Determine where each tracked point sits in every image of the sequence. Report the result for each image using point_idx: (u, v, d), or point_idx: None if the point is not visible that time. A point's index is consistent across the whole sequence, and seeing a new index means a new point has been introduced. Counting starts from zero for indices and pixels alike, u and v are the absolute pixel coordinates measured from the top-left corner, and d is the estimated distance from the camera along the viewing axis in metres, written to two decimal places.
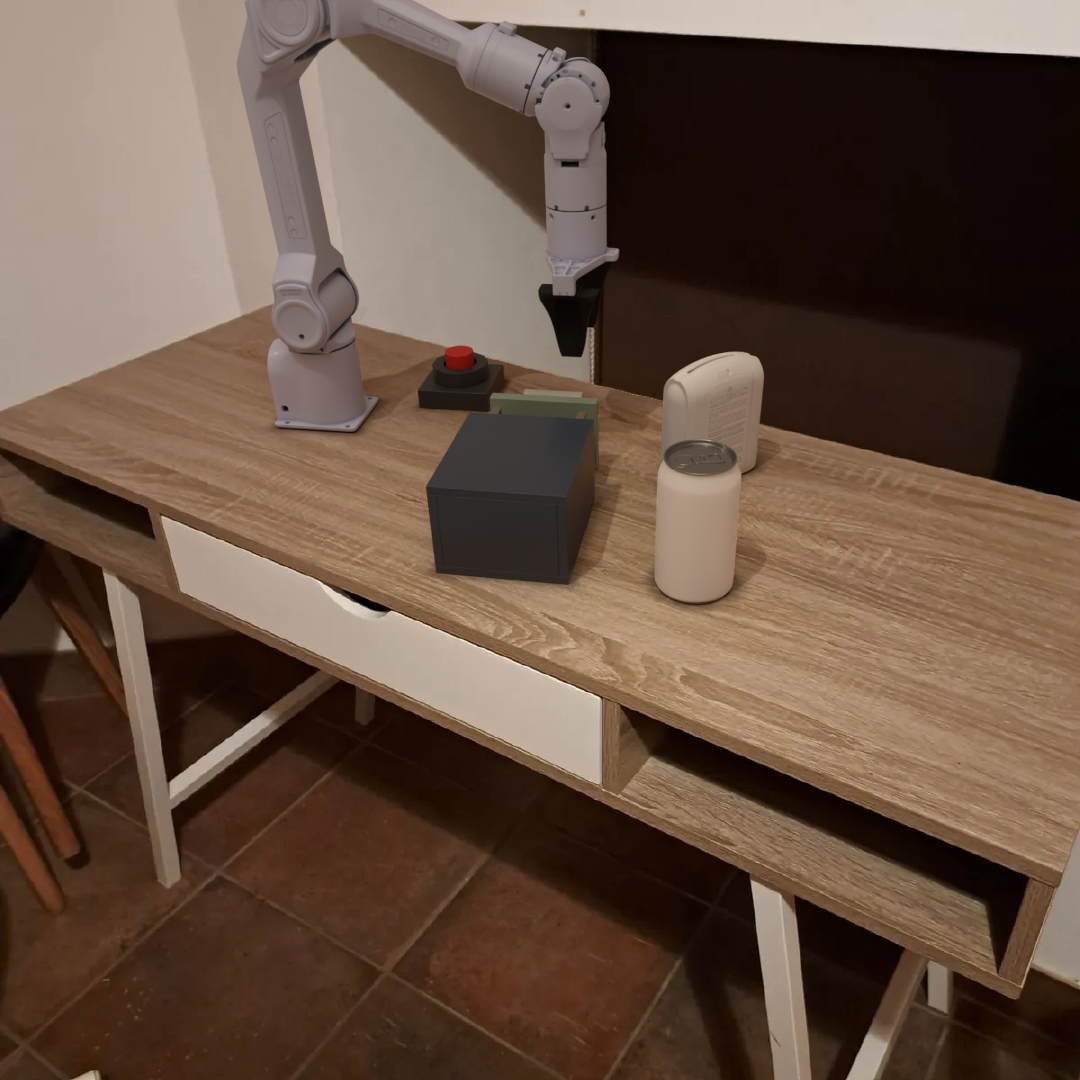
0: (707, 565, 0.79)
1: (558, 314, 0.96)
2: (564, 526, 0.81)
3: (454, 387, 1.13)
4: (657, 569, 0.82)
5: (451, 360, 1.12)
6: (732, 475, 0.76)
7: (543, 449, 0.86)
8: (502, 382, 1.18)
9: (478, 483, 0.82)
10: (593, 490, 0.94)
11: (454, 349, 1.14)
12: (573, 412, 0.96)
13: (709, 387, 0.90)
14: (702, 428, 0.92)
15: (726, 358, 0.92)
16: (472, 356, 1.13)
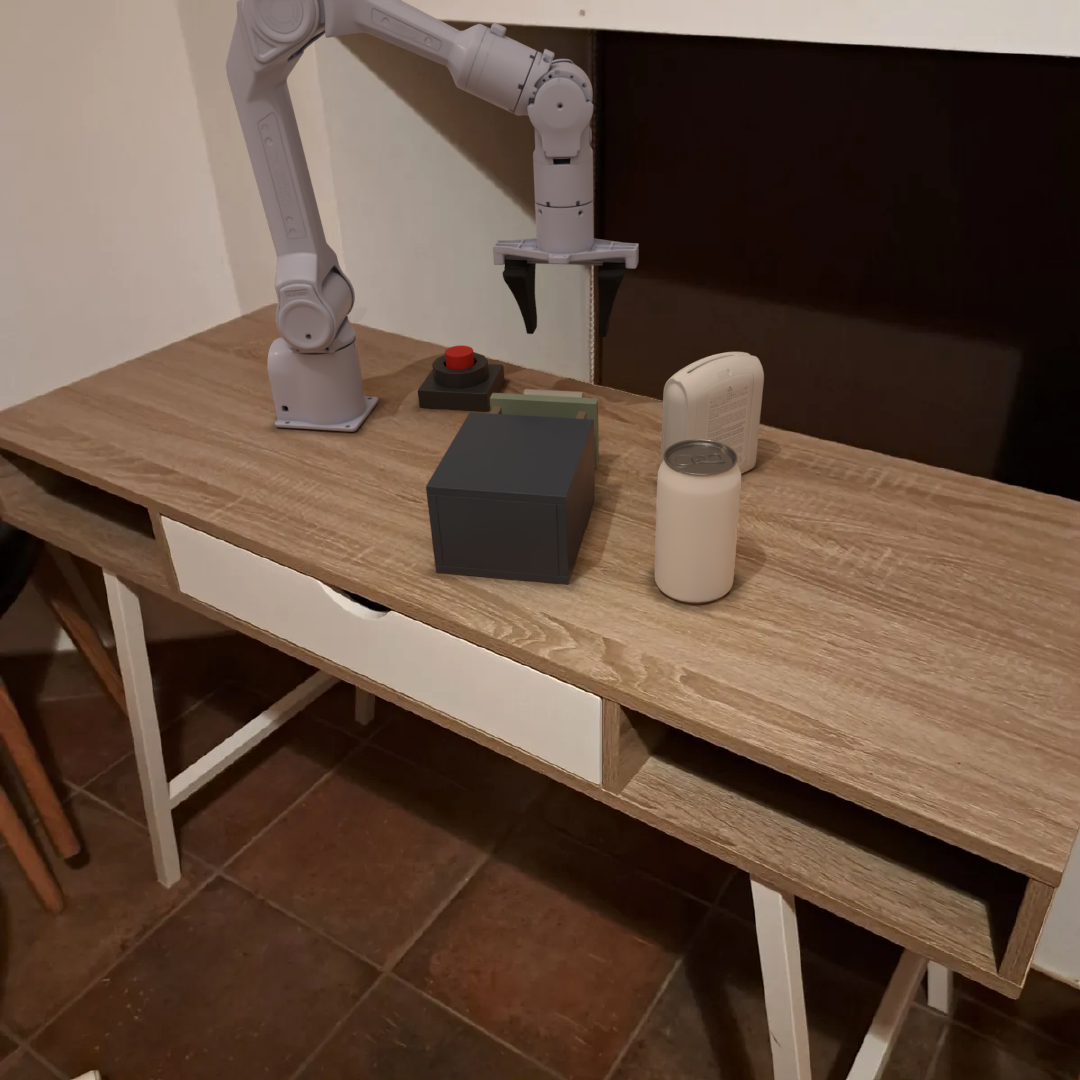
0: (707, 565, 0.79)
1: None
2: (564, 526, 0.81)
3: (454, 387, 1.13)
4: (657, 569, 0.82)
5: (451, 360, 1.12)
6: (732, 475, 0.76)
7: (543, 449, 0.86)
8: (502, 382, 1.18)
9: (478, 483, 0.82)
10: (593, 490, 0.94)
11: (454, 349, 1.14)
12: (573, 412, 0.96)
13: (709, 387, 0.90)
14: (702, 428, 0.92)
15: (726, 358, 0.92)
16: (472, 356, 1.13)
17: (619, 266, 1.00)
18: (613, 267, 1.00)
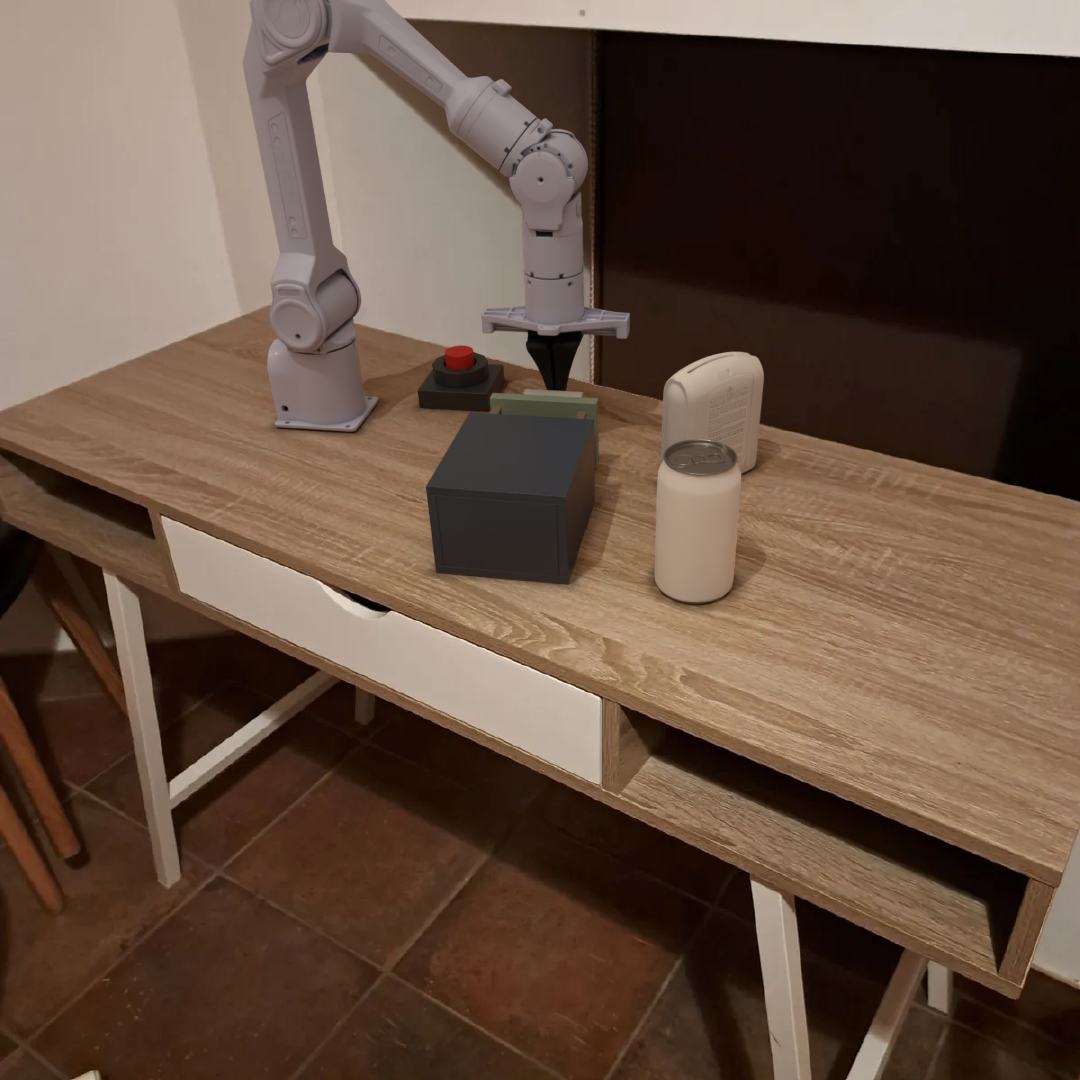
0: (707, 565, 0.79)
1: None
2: (564, 526, 0.81)
3: (454, 387, 1.13)
4: (657, 569, 0.82)
5: (451, 360, 1.12)
6: (732, 475, 0.76)
7: (543, 449, 0.86)
8: (502, 382, 1.18)
9: (478, 483, 0.82)
10: (593, 490, 0.94)
11: (454, 349, 1.14)
12: (573, 412, 0.96)
13: (709, 387, 0.90)
14: (702, 428, 0.92)
15: (726, 358, 0.92)
16: (472, 356, 1.13)
17: (574, 335, 0.99)
18: (569, 335, 0.99)
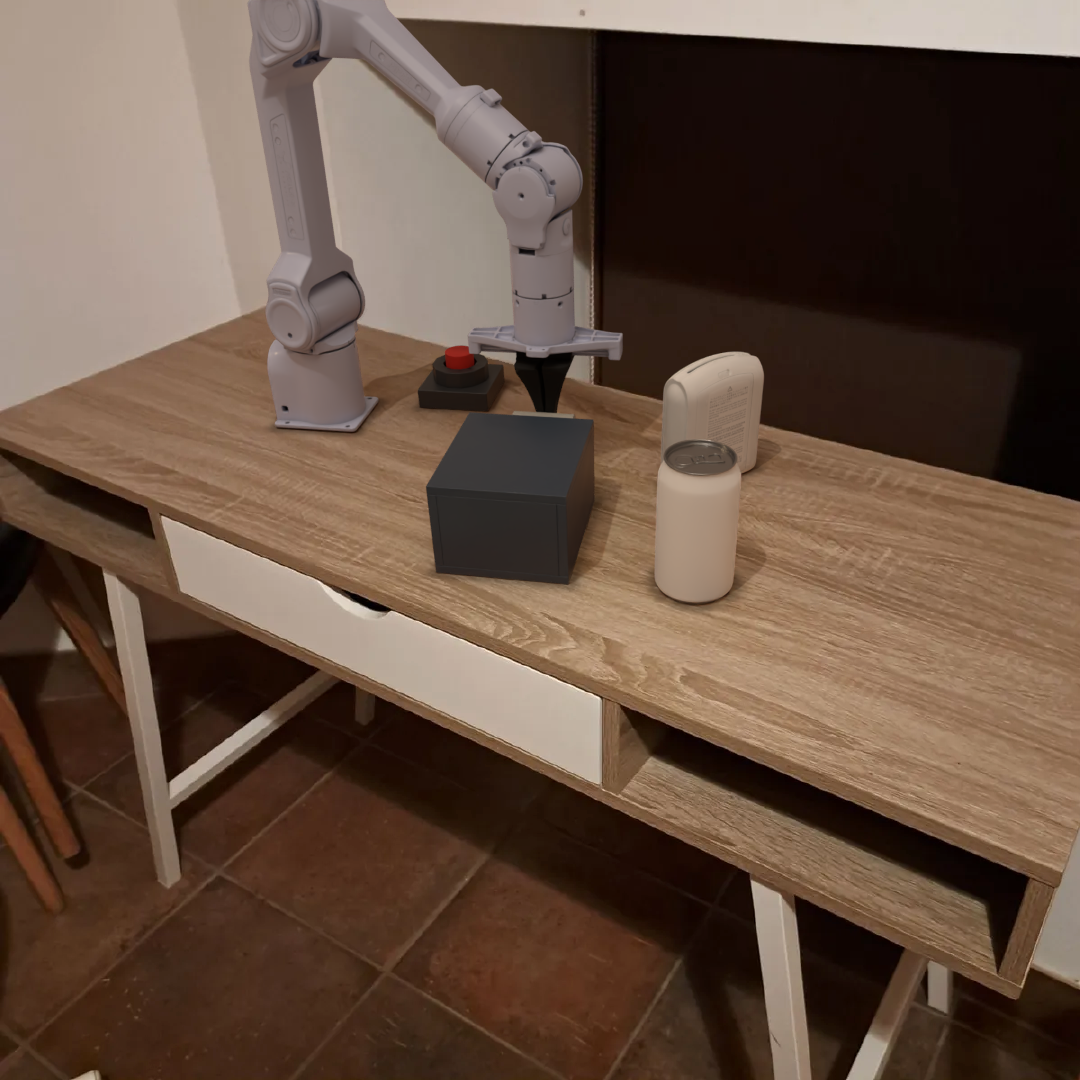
0: (707, 565, 0.79)
1: None
2: (564, 526, 0.81)
3: (454, 387, 1.13)
4: (657, 569, 0.82)
5: (451, 360, 1.12)
6: (732, 475, 0.76)
7: (543, 449, 0.86)
8: (502, 382, 1.18)
9: (478, 483, 0.82)
10: (593, 490, 0.94)
11: (454, 349, 1.14)
12: None
13: (709, 387, 0.90)
14: (702, 428, 0.92)
15: (726, 358, 0.92)
16: (472, 356, 1.13)
17: (565, 356, 0.95)
18: (559, 357, 0.95)
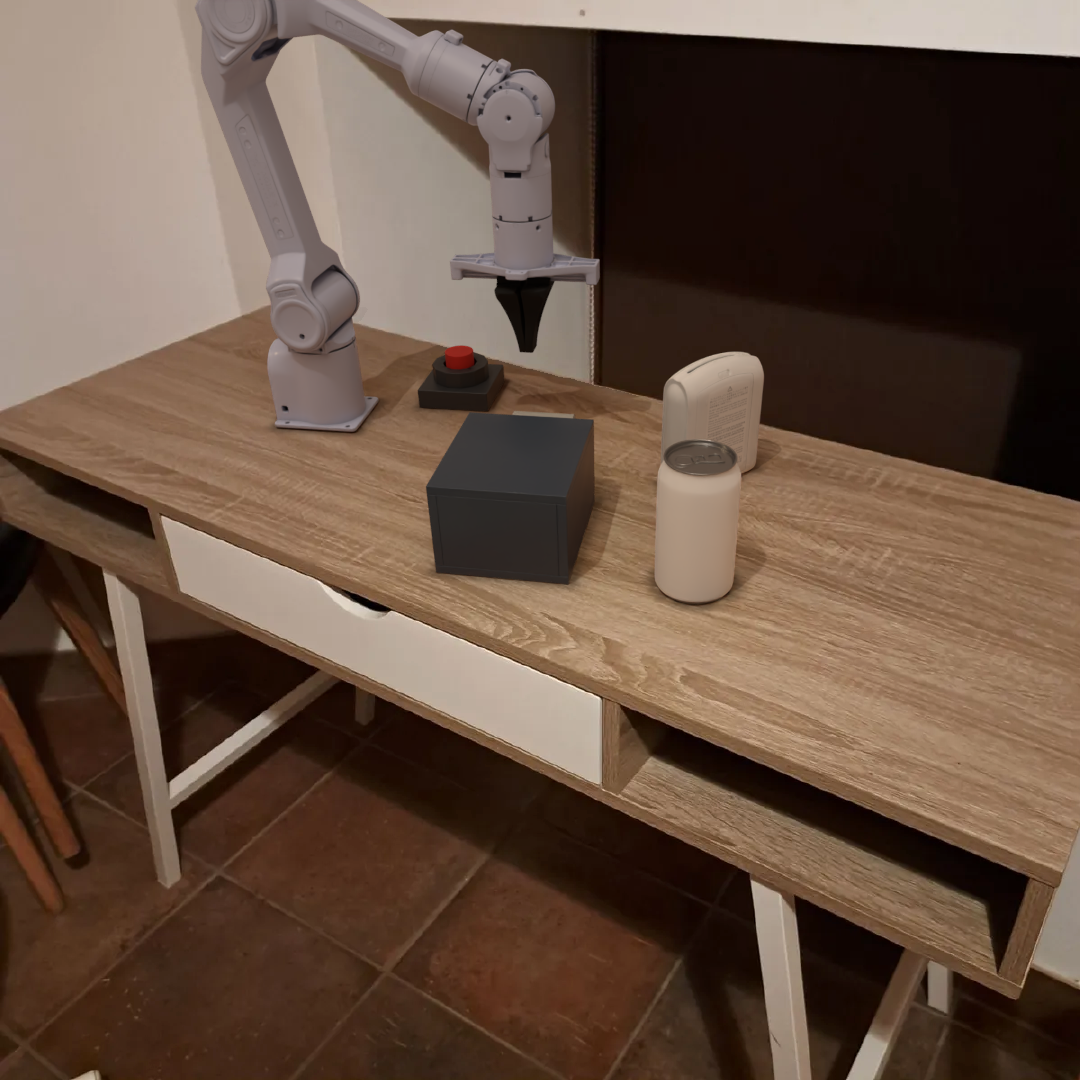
0: (707, 565, 0.79)
1: None
2: (564, 526, 0.81)
3: (454, 387, 1.13)
4: (657, 569, 0.82)
5: (451, 360, 1.12)
6: (732, 475, 0.76)
7: (543, 449, 0.86)
8: (502, 382, 1.18)
9: (478, 483, 0.82)
10: (593, 490, 0.94)
11: (454, 349, 1.14)
12: None
13: (709, 387, 0.90)
14: (702, 428, 0.92)
15: (726, 358, 0.92)
16: (472, 356, 1.13)
17: (544, 281, 0.98)
18: (538, 282, 0.98)
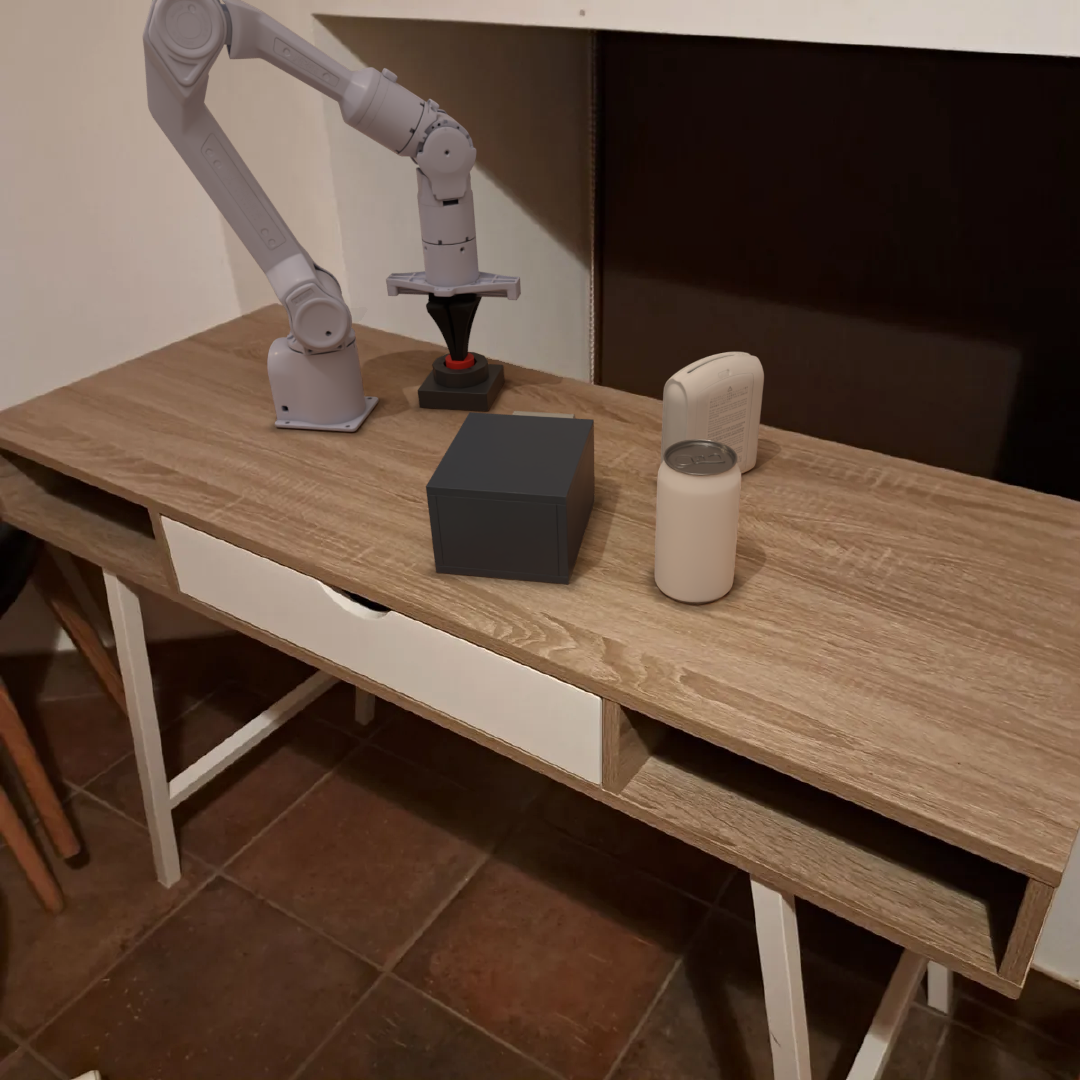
0: (707, 565, 0.79)
1: None
2: (564, 526, 0.81)
3: (454, 387, 1.13)
4: (657, 569, 0.82)
5: (451, 366, 1.13)
6: (732, 475, 0.76)
7: (543, 449, 0.86)
8: (502, 382, 1.18)
9: (478, 483, 0.82)
10: (593, 490, 0.94)
11: None
12: None
13: (709, 387, 0.90)
14: (702, 428, 0.92)
15: (726, 358, 0.92)
16: (473, 363, 1.14)
17: (470, 297, 1.09)
18: (465, 297, 1.09)
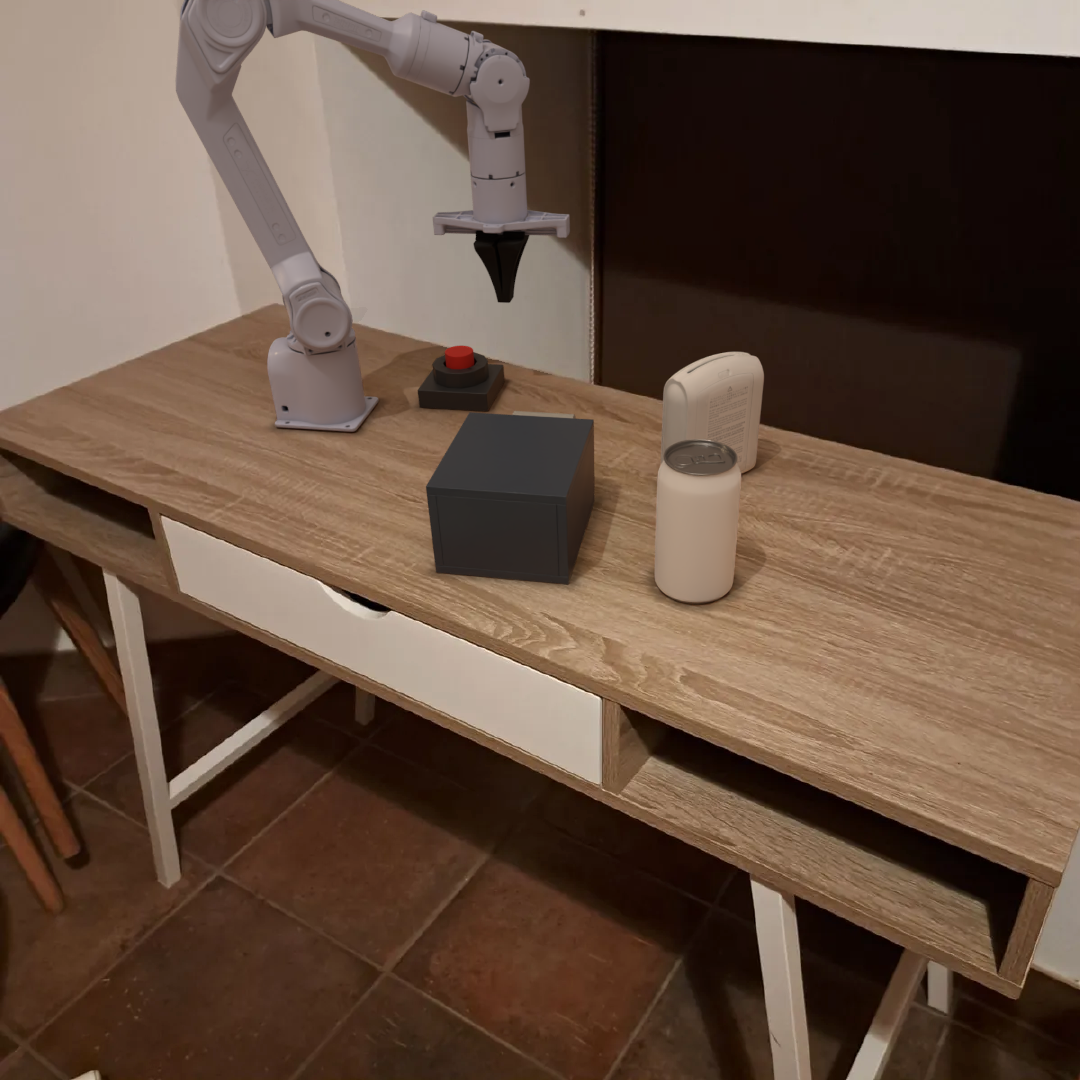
0: (707, 565, 0.79)
1: None
2: (564, 526, 0.81)
3: (454, 387, 1.13)
4: (657, 569, 0.82)
5: (451, 360, 1.13)
6: (732, 475, 0.76)
7: (543, 449, 0.86)
8: (502, 382, 1.18)
9: (478, 483, 0.82)
10: (593, 490, 0.94)
11: (454, 349, 1.14)
12: None
13: (709, 387, 0.90)
14: (702, 428, 0.92)
15: (726, 358, 0.92)
16: (472, 356, 1.13)
17: (518, 235, 1.07)
18: (513, 236, 1.07)
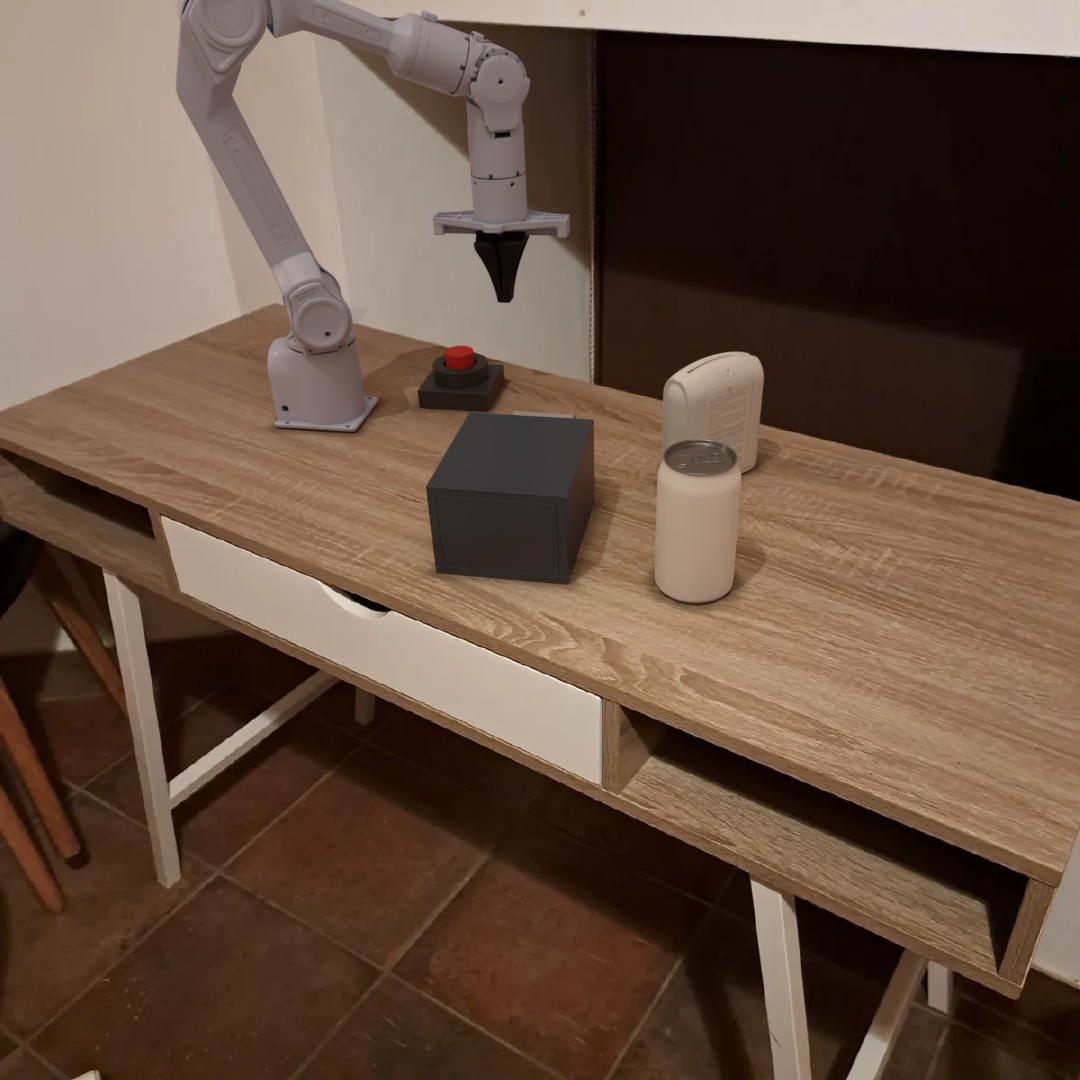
0: (707, 565, 0.79)
1: None
2: (564, 526, 0.81)
3: (454, 387, 1.13)
4: (657, 569, 0.82)
5: (451, 360, 1.13)
6: (732, 475, 0.76)
7: (543, 449, 0.86)
8: (502, 382, 1.18)
9: (478, 483, 0.82)
10: (593, 490, 0.94)
11: (454, 349, 1.14)
12: None
13: (709, 387, 0.90)
14: (702, 428, 0.92)
15: (726, 358, 0.92)
16: (472, 356, 1.13)
17: (518, 235, 1.07)
18: (513, 236, 1.07)
